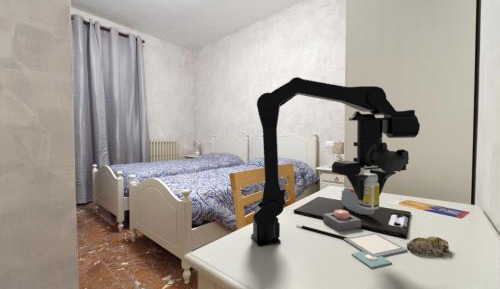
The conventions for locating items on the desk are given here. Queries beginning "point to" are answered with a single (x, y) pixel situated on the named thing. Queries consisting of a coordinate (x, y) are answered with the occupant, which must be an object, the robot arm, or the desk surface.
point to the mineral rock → (429, 246)
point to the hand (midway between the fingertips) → (368, 199)
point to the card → (371, 259)
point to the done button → (341, 214)
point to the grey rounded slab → (353, 202)
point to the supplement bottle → (370, 192)
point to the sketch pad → (375, 245)
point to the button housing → (342, 222)
